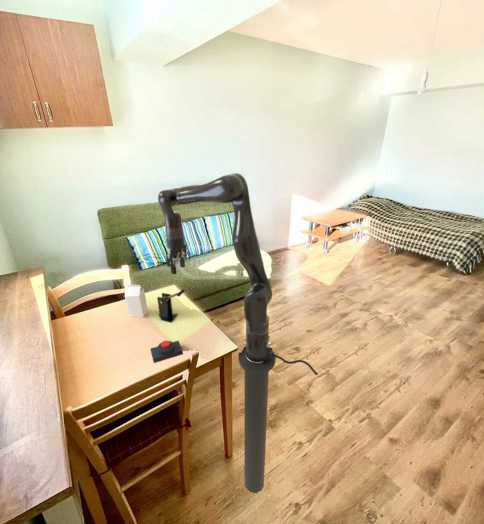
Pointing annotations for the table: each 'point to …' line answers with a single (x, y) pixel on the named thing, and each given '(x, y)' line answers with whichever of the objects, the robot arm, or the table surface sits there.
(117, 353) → the table surface
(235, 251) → the robot arm
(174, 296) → the lever
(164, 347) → the button
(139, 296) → the milk carton
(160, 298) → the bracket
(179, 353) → the control block
